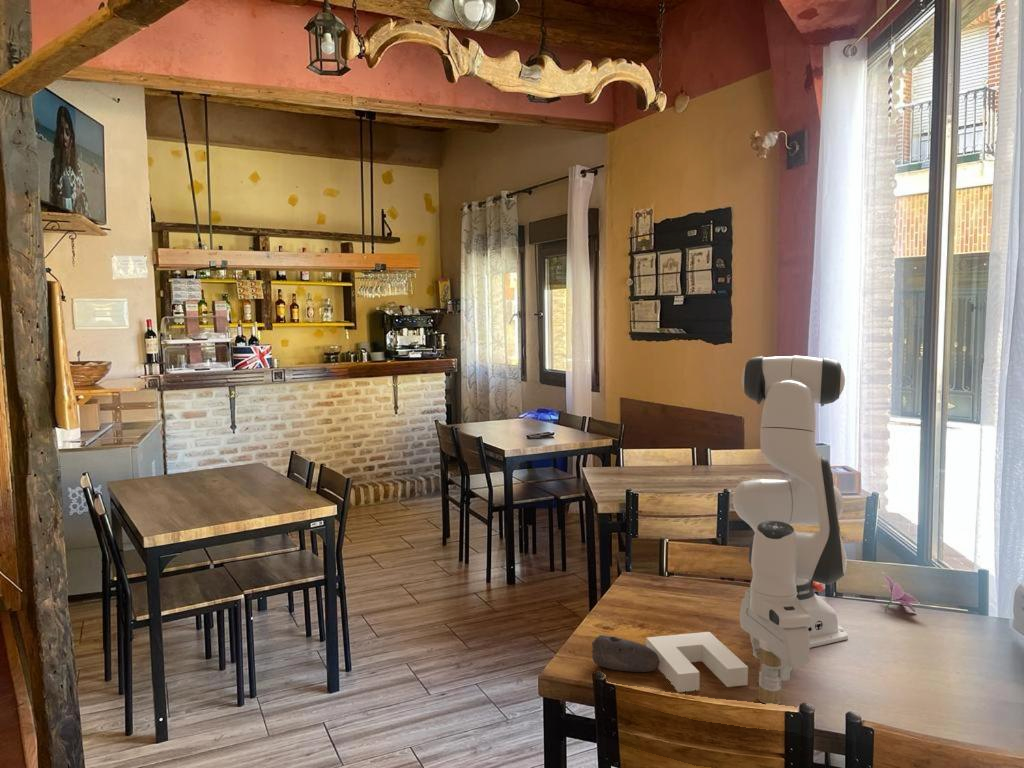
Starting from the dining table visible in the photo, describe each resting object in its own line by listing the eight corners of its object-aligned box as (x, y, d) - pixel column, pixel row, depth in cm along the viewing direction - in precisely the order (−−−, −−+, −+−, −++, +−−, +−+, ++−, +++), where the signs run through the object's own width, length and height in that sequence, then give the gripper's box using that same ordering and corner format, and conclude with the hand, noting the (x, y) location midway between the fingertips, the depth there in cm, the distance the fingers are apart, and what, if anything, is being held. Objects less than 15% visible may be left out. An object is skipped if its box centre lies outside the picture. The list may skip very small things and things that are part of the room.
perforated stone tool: (661, 669, 163) (661, 639, 162) (657, 680, 158) (658, 650, 157) (595, 659, 168) (595, 630, 167) (590, 669, 163) (590, 640, 162)
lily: (918, 628, 187) (933, 594, 188) (873, 605, 190) (887, 572, 191) (904, 623, 198) (918, 591, 199) (861, 602, 202) (875, 570, 203)
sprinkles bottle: (763, 693, 152) (765, 631, 151) (784, 701, 149) (787, 638, 148) (754, 701, 149) (756, 638, 148) (775, 709, 146) (777, 645, 145)
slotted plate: (708, 647, 173) (709, 631, 173) (747, 684, 156) (748, 667, 155) (646, 653, 170) (646, 637, 170) (678, 692, 153) (678, 674, 152)
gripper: (733, 585, 157) (731, 646, 158) (786, 624, 137) (784, 694, 138) (759, 583, 158) (757, 644, 159) (816, 621, 138) (814, 690, 139)
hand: (770, 667), depth 148 cm, fingers open, 8 cm apart
